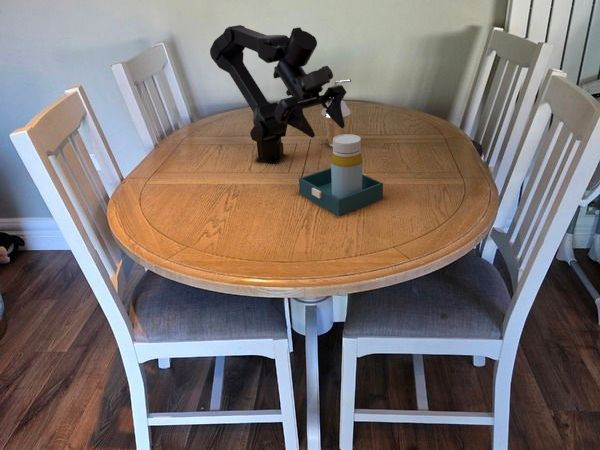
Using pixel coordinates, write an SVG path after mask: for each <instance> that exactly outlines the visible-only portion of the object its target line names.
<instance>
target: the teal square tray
mask: <svg viewBox="0 0 600 450" xmlns="http://www.w3.org/2000/svg"><path fill="white" fill-rule="evenodd" d="M298 189H299V191H298V193H299V194H300V195H302V196H303V197H305V198H307V199H309V201H311V202H314V203H315V204H317V205H319V206H320V207H322V208H324V209H326V210H327V211H329V212H331V213H332V214H334V215H336V216H338V217H341V216H343V215H346V214H348V213H350V212H353V211H356V210H358V209H361V208H363V207H365V206H369V205H371V204H373V203H376V202H378V201H380V200H383V197H384V183H383V182H381V181H379V180H377V179H374V178H372V177H370V176H368V174H366V173H364V172H362V190H361V191H358V192H355V193H353V194H350V195H347V196H345V197H342V198H337V197H335V196H333V195H332V178H331V167H329V168H326V169H322V170H320V171H317V172H313V173H310V174H308V175H305V176H302V177H299V178H298Z"/></svg>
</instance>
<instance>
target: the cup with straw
mask: <svg viewBox="0 0 600 450" xmlns="http://www.w3.org/2000/svg"><path fill="white" fill-rule="evenodd" d="M351 82H352V79H350V78H349V79H338V80H334V82H333V86H336V85H338V84H341V83H343V84H344V83H351ZM326 110H327V109H326V108H324V107H323V109H321V116H323V119H324V123H325V126H326V135H327V142H328V146H329V147H330V148H333V138H334V137H335V136H338V135H343V134H346V130H347V123H348V119H349V115H351V109H350V108H349V107H348V105H347V103H346V102H345V101H344V100H342V101H341V110H342V115H343V120H344V124H345V126H344V128H341V127H340V126H339V125H337V123H336V122H335V121H334V120H333V119H332V118H331V117H330V116H329V115H328V114H327V113H326V112H325V111H326Z"/></svg>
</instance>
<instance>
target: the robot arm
mask: <svg viewBox="0 0 600 450" xmlns="http://www.w3.org/2000/svg"><path fill="white" fill-rule="evenodd" d="M317 46H318V41H317V38H316V37H315V36H314V35H313V34H312V33H310V32H308V31H306V30H303V29H302V28H301V27H299V26H298V27H293V28H292V29H291V32H290V36H289V37H288V35H286V34H264V33H263V32H259V31H256V30H253V29H250V28H248V27H246V26H245V25H241V24H238V25H230V26H228V27H226V28H225V29H224V31H223V33H221V34H220V35H219V36H218V37H217V38H216V39H214V40H213V42H212V45H211V47H210V49H209V55H210V57H211V59H212V60H213V62H214V63H215V64H216V66H217V67H218V68H219V69H220V70H222V71H224V72H226V73H228V74H229V76H230V77H231V80H232V81H233V82H234V84H235V86H236V87H237V89H238V90H239V92H240V93H241V95H242V96H243V98H244V100H245V101H246V103H247V104H248V106H249V108H250V110H251V111H252V113H253V117H252V122H253V127H252V128H251V130H250V132H249V134H250V139H251V140H252V141H254V142H256V151H257V158H256V159H255V162H258V163H266V164H278V163H279V162H280V161H281V160H282V159H283V158H284V157H285V155H286V154H285V152H284V151H285V150H284V142H282V138H283V137H287V136H286V135H287V130H288V126H290V127H292V128H294V129H297V130H298V131H300V132H301V133H303V134H305V135H307V136H308V137H310V138H311V139H313V138H315V136H316V134H315V131H314V130H313V128H312V126H311V125H310V123H309V121H308V119H307V118H306V116H305V114H304V109H308V108H311V107H316V106H319V105H321V106H322V107H323V109H324V108H326V109H327V110H326V111H325V112H326V113H327V114H328V115H329V116H330V117H331V118H332V119H333V120H334V121H335V122H336V123H337V125H339V126H340V127H341V128H344V126H345V124H344V120H343V115H342V110H341V101H343V99H344V98H345V96H346V94H347V90H346V89H345V87H344V86H343V85H342V84H336V86H334V85H333V86H329V87H327V89H326V91H325V92H324V94H321V95H320V93H322V91H323V89H324V88H323V87H324V86H325V85H327V84H330V83H331V80H332V79H333V78H334V73H333V71H332V69H331V67H329V66H328V65H324V66H322V67H320V68H318V69H317V70H313V71H310V72H308V73H306V71H305V69H304V68H303V67H305V66H307V65H308V63H309V61H310V60H311V57H312V55H313V54H314V52H315V50H316V48H317ZM245 49H249V50H250V51H252V52H253V51H254V52H256V53H257V56H258V58H259V59H261V60H262V61H263V62H265V63H266V64H271V63H275V62H277V64H276V66H274V67H273V68H274V71H273V79H279V78H280V79H281V81H282V83H283V84H284V86H285V88H286V92H285V94H286V95H287V97H285V98H282V99H280V100H279V101H278V102H269V101H268V99H267V98H266V96H265V95H264V93H263V91H262V90H261V89H260V86H259V85H258V84H257V82H256V80H255V79H254V77H253V75H252V74H251V73H250V71H249V70H248V67H247V66H246V65H245V63H244V54H245V53H244V50H245Z"/></svg>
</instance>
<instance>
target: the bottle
mask: <svg viewBox="0 0 600 450" xmlns="http://www.w3.org/2000/svg"><path fill="white" fill-rule="evenodd" d="M361 147H362V137H360V136H359V135H357V134H352V133H351V134H350V133H345V134H343V135H338V136H335V137H334V138H333V147H332V155H331V159H330V168H331V178H332V195H333V196H335V197H337V198H342V197H345V196H347V195H350V194H353V193H355V192H358V191H361V190H362V173H363V160H364V159H363V156H362V152H361Z"/></svg>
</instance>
